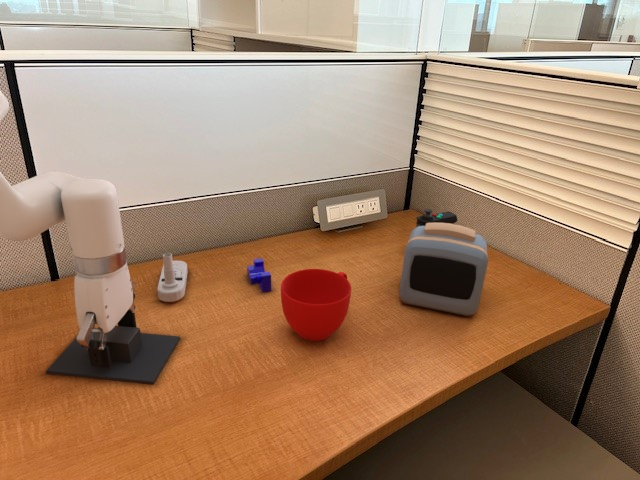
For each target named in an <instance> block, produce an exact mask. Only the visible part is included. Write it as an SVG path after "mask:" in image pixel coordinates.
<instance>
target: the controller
mask: <svg viewBox="0 0 640 480" xmlns="http://www.w3.org/2000/svg"><path fill="white" fill-rule="evenodd" d="M457 222H458V215H457V214H455V213H453V212H452V211H444V212H437V213H433V210H432V209H430V208H425V209H424V214H422V215H419V216H416V222H415V225H416V227H419V226H426V223H450V224H455V223H457Z"/></svg>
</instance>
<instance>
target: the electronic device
mask: <svg viewBox="0 0 640 480" xmlns="http://www.w3.org/2000/svg"><path fill="white" fill-rule="evenodd" d="M162 261H163V262H162V263H163V265H162V267H161V272H160V276H159V279H158V283H157V287H156V289H157V297H158V299H159V300H160V301H162V302H165V303H167V302H168V303H174V302H178V301H179V300H182V299H183V297H184V296H185V294H186V287H187V280H188V272H189V271H188V264H187V262H185V261H183V260H173V254H172V253H171V252H167V253H163V254H162Z"/></svg>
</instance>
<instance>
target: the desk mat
mask: <svg viewBox="0 0 640 480" xmlns="http://www.w3.org/2000/svg"><path fill="white" fill-rule="evenodd" d="M140 334H141V340H142V348H141V349H140V351H139V352H138V353H137V355H136V356H135V358H134V359H133V361H132V362H131V363H127V362H117V361H111V366H110V367H109V368H107V367H97V366H92V365H91V362H90V357H89V352H88V349H86V348H84V347H82V346H81V344H80V343H79V342H78V341H77V336H76V337H75V338H74V339H73V340H72V341H71V342H70V343H69V344H68V346H67V347H66V348H65V349H64V350H63V351H62V352H61V353H60V355H58V357H57V358H56V359H55V360H54V361H53V362H52V363H51V365H50V366H49V367H48V368H46V370H45V373H46V374H48V375H55V376H56V375H58V376H69V377H77V378H87V379H96V380H105V381H107V380H108V381H116V382H126V383H137V384H146V385H155V383H156V381H157V380H158V378H159V376H160V375H161V372H162V371H163V369H164V367H165V366H166V364H167V362H168V360H169V359H170V357H171V355H172V354H173V353H174V350H175V348H176V347H177V345H178V343H179V342H180V340H181V336H179V335H167V334H157V333H156V334H155V333H148V332H147V333H146V332H140Z"/></svg>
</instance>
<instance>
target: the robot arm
mask: <svg viewBox="0 0 640 480" xmlns="http://www.w3.org/2000/svg"><path fill="white" fill-rule="evenodd" d="M9 110H10V103H9V100H8V98H7V97H6V96H5V95H4V93H3V92H2V91H1V90H0V122H1V121H2V120H3V119H4V118H5V116H7V114H8V113H9ZM118 196H119V195H118V191H117V189H116V186H115V185H114V184H113V183H112V182H110V181H109V180H107V179H101V178H82V177H79V176H76V175H73V174H71V173H66V172H63V171H56V170H49V171H46V172H45V171H44V172H43V173H40V174H37V175H35V176H32V177H31V178H27V179H25V180H23V181H20V182H18V183H15V184H13V185H11V184H10V182H9V181H8V180H7V179H6V177H5V176H4V174H3V173H2V172H1V171H0V237H1V238H4V239H6V240H8V241H15V242H23V241H28V240H30V239H33V238H36V237H37V236H39V235H40V234H42V233H44V232H45V231H47V230H49V229H51V228H52V227H54V226H56V225H58V224H61V223H63V222H65V225H66V231H67V236H68V240H69V241H68V242H69V246H70V250H71V257H72V261H73V267H74V271H75V272H74V273H76V274H75V276H74V282H73V284H74V285H73V287H74V289H73V292H74V304H75V313H76V319H77V326H78V329H79V330H78V333H77V335H76V337H77V341H78V342H79V343H80V344H81V346H82V347H84V348H86V349H88V352H89V357H90V362H91V365H92V366H97V367H107V368H109V367H110V366H111V359H110V353H109V348H108V346H106V345H105V344H106V339H107V334H108V332H109V331H111V330H112V329H113V328H114V327H115V326H124V327H135V328H138V327H137V320H136V313H135V310H136V305H135V299H136V294H135V292H136V291H135V290H136V281H135V280H131V275H130V271H129V267H128V261H127V254H126V247H125V238H124V232H123V225H122V218H121V211H120V204H119V197H118ZM96 325H97V326H98V327H100V328H102V329H97V328H95V326H96ZM94 332H97V333H101V335H100V340H99V341H96V340H93V336H94Z"/></svg>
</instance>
